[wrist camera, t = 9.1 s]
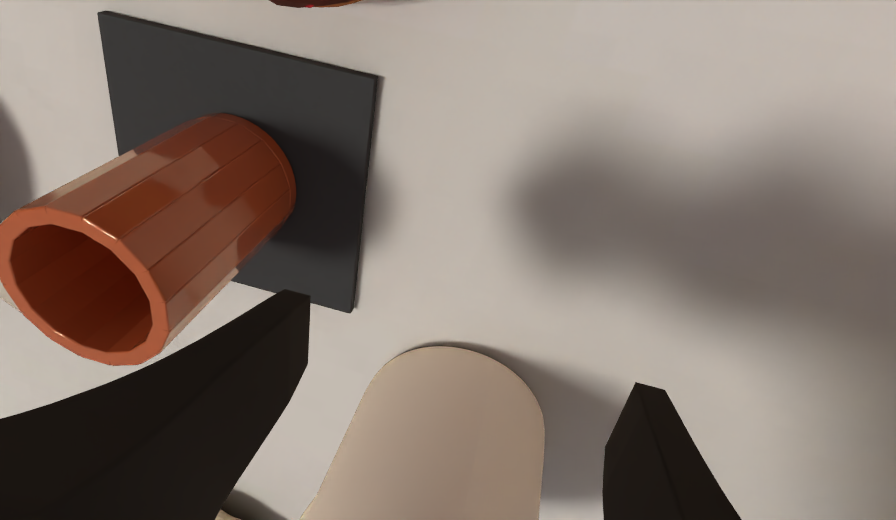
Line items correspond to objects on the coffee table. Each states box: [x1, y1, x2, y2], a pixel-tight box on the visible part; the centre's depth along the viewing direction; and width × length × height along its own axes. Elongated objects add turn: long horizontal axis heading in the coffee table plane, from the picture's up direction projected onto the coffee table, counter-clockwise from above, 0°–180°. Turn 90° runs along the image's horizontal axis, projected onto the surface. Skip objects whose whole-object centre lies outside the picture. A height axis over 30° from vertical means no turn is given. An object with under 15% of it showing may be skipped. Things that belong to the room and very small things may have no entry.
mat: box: [98, 11, 378, 313], centre depth 22 cm, size 10×10×1 cm
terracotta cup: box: [0, 113, 296, 366], centre depth 19 cm, size 5×5×8 cm
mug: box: [300, 346, 545, 520], centre depth 23 cm, size 12×8×10 cm
